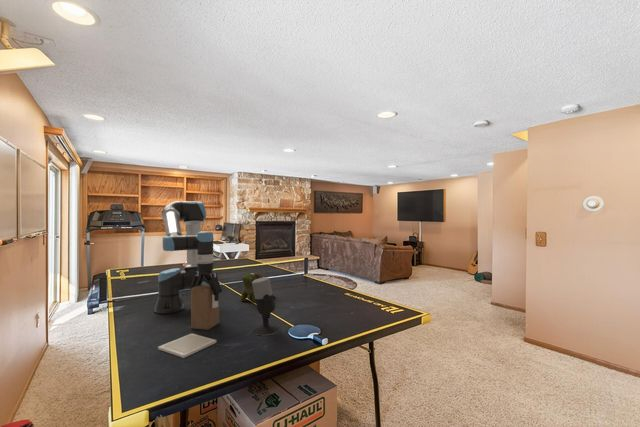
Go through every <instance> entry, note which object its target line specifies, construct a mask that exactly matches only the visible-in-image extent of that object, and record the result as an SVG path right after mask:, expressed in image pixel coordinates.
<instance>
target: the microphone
mask: <svg viewBox="0 0 640 427" xmlns="http://www.w3.org/2000/svg"><path fill="white" fill-rule="evenodd" d="M252 286H253V290H254V295H255V300H256V302H255V304H256V310H257V313H258V314H260V315H261V318H262V324H261V325H257V326H254V327H253V328H251V333H252V334H253V335H256V336H259V335H261V337H264V336H266V337H267V336H271V335H275V334H277V333H279V332H280V327H279V326H278V325H276V324H269V319H270V318H271V313H273V312H274V311H275V308H276V303H275V301H276V296H275V295H274V293H273V289H272V284H271V279H270V277H269V276H266V277H265V276H263V278H259V279H256V280H254V281H253V282H252Z"/></svg>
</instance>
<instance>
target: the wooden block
mask: <svg viewBox="0 0 640 427" xmlns="http://www.w3.org/2000/svg"><path fill="white" fill-rule="evenodd" d="M215 292H216V291H215ZM212 294H213V291H212V290H211V288H210V286H209V284H208V283H206V284H201V285H198V286H196V287H193V288H191V289H190V328H191V329H193V330H194V329H195V330H207V331H208V330H211V329H212V328H214V327H216V326H217V325H218V324H219V323H220V299H219V300H218V307H216V308H212Z"/></svg>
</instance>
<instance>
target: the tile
mask: <svg viewBox="0 0 640 427" xmlns="http://www.w3.org/2000/svg"><path fill="white" fill-rule="evenodd" d="M216 343H217V339H214V338H209V337H207V336H203V335H200V334H196V333H192V332H191V333H189V334H186V335H184V336H182V337H179V338H177V339H175V340H172V341H169V342H167V343H165V344H162V345H159V346H157V350H159V351H163V352H164V353H168V354H171V355H174V356H176V357H180V358H182V359H185V358H186V357H187V358H188V357H190V355H191V356H192V355H194V354H195V353H197V352H199V351H202V350H205V349H206V348H208V347H211V346H212V345H214V344H216Z"/></svg>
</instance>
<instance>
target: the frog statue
mask: <svg viewBox="0 0 640 427" xmlns="http://www.w3.org/2000/svg"><path fill="white" fill-rule="evenodd" d="M263 277H264V276H263V275H262V274H259V273H257V272H252V273H246V274H244V276H242V277H241V280H242V284H243V289H242V292H241V296H240V301H241V302H242V303H243V302H244V301H245V300H246V299H247V298H248V296H249V297H251V299H252V300H251V301H252V302H253V303H256V300H255V295H254V290H253V286H252V282H253V281H254V280H256V279H259V278H263Z"/></svg>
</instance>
